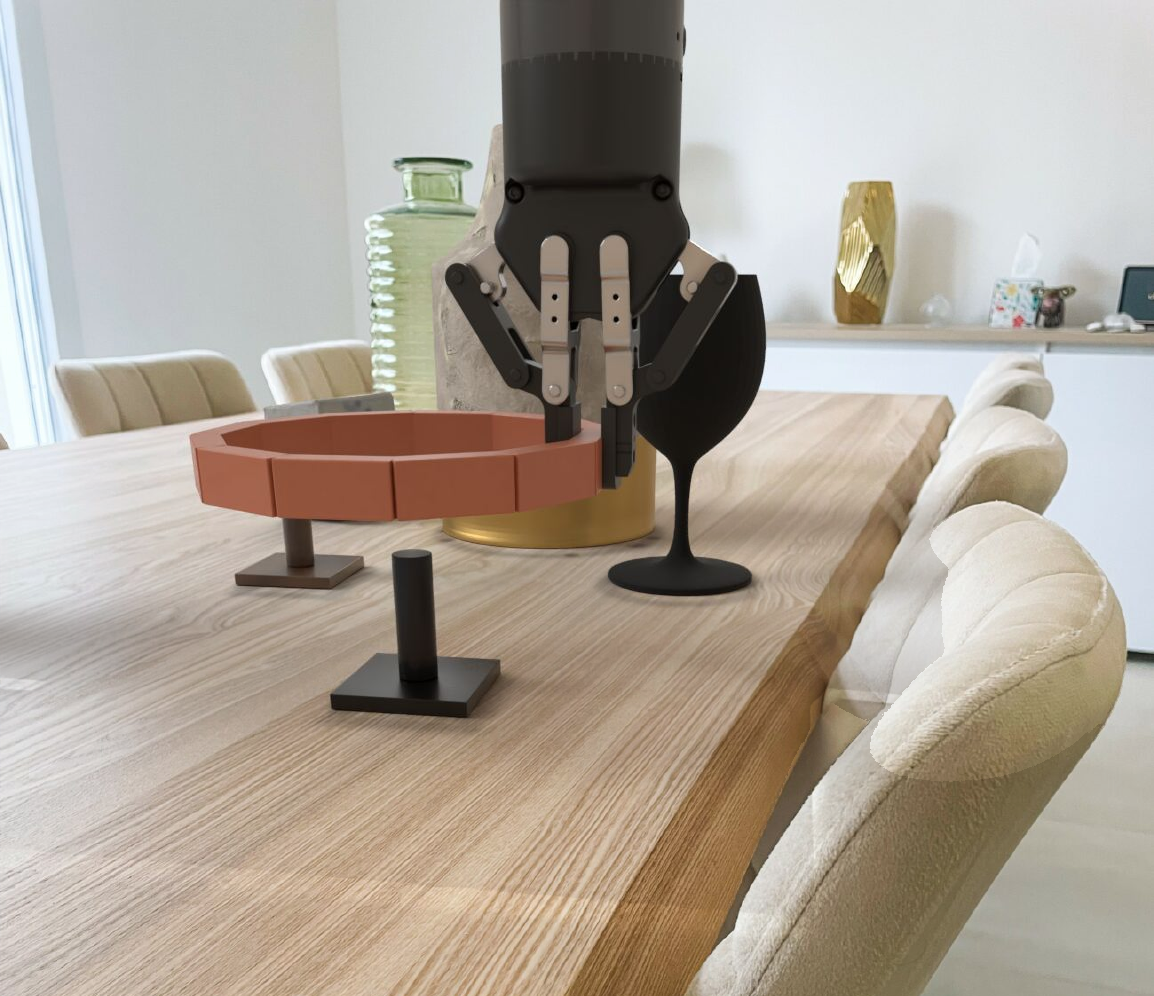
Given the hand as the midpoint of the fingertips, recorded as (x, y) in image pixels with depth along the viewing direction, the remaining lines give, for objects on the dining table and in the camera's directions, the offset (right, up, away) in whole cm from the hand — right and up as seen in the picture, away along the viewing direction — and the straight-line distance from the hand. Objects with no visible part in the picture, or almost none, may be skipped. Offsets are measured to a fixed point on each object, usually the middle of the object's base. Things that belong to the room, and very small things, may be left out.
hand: (591, 485), depth 54 cm
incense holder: (-22, +10, +52) cm, 57 cm away
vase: (-3, +8, +46) cm, 47 cm away
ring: (-9, +1, +2) cm, 9 cm away
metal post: (-9, -9, +6) cm, 14 cm away
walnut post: (-21, +1, +29) cm, 36 cm away
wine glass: (+7, 0, +28) cm, 29 cm away
